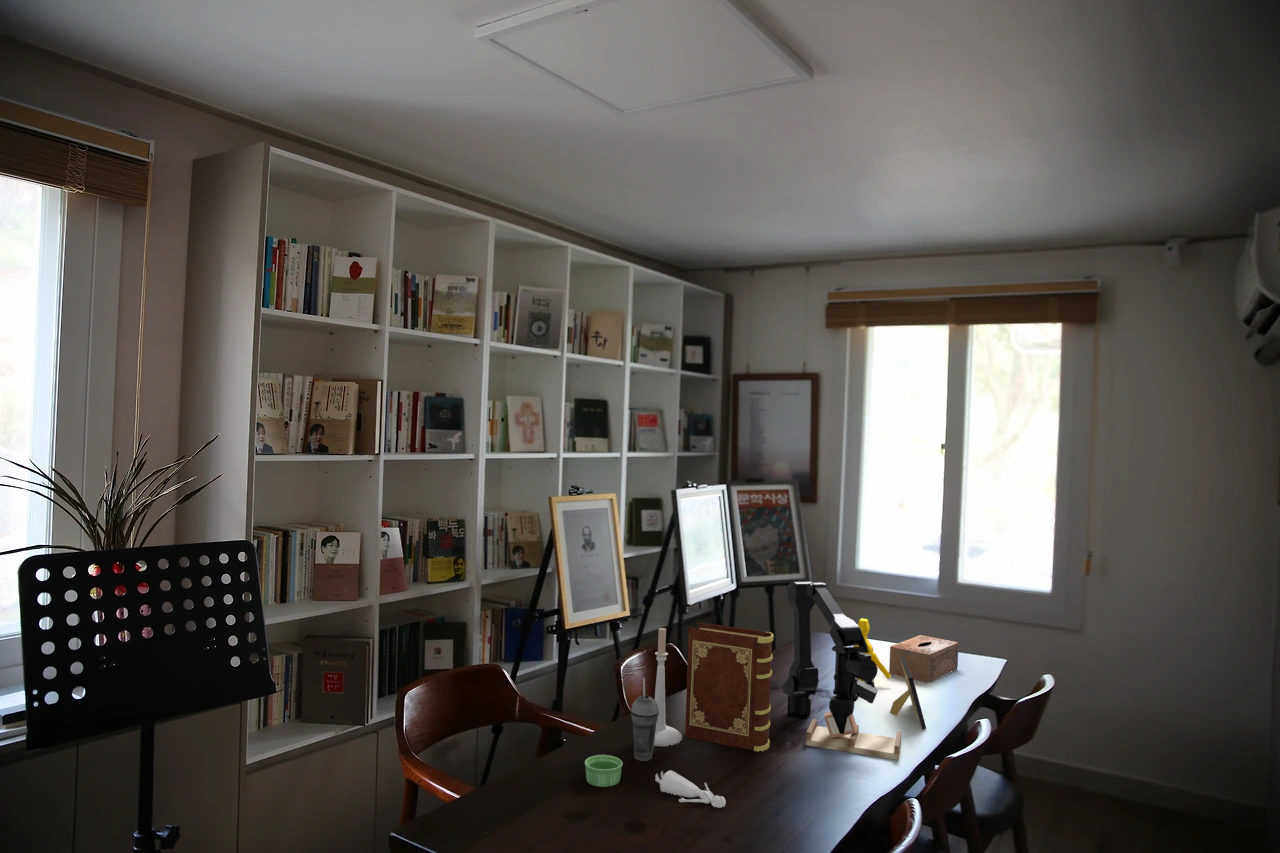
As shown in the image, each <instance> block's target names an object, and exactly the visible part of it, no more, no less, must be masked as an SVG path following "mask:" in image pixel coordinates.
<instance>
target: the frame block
mask: <svg viewBox="0 0 1280 853" xmlns="http://www.w3.org/2000/svg"><path fill="white" fill-rule="evenodd" d="M823 718H824V721H825V724H826V727H827V728H828V730H829V733H830V737H831V738H834V737H839V736H844V735H849V734H853V733H856V732H857V725H858V724H857V723H856V722H857V721H856V719H855V716H854V713H853V714H851V715H849V716H848V718H847V722H846V727H845V731H844V734H840V733H839V730H838V728H837V725H836V722H835V720H834V718H833V715H832V713H831V711H830V710H828V711H825V712H824V715H823Z"/></svg>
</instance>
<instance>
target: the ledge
mask: <svg viewBox="0 0 1280 853" xmlns="http://www.w3.org/2000/svg"><path fill="white" fill-rule="evenodd" d="M856 725H857V732H856V733H853V734H849V735H844V736H839V737H834V738H831V737H830V733H829V730H828V727H827V726H826V727H825V726H818V718H812V720H811V722H810V724H809V726H808V728H807V730H806V738H805V745H806V746H810V747H816V748H821V749H826V750H827V749H828V750H834V751H841V752H845V753H846V752H847V753H853V754H859V755H866V756H872V757H878V758H884V759H891V760H897V761H900V757H901V756H900V755H901V748H902V735H903V734H902V733H903V732H902V731H899V730H897V731H896V736H895V737H892V736H885V735H879V734H872V733H864V732H860V731H859V729H860V728H859V727H860V725H859V724H856Z"/></svg>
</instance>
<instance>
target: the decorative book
mask: <svg viewBox="0 0 1280 853" xmlns="http://www.w3.org/2000/svg"><path fill="white" fill-rule="evenodd" d="M773 641H774V633H772V632H771V631H762V630H755V629H749V628H748V629H747V628H742V627H741V628H740V627H735V626H733V627H732V626H726V625H721V624H711V623H703V622H698V623H697V628H695V627H688V641H687V642H688V646H687V665H686V666H687V672H686V674H687V676H686V697H685V698H686V699H685V700H686V702H685V723H684V724H685V725H684V726H685V727H684V728H685V729H684V730H685V731H684V732H685V733H684V734H685V735H684V736H685V738H688V739H694V740H697V741H702V742H708V743H711V744H712V743H714V744H717V745H724V746H728V747H733V748H737V747H738V749H742V748H743V750H747V749H748V750H749V751H753V750H754V751H753V752H756V751H757V753H760V752H759V751H762V752H765V751H767V750H768V749H769V748H770V745H771V744H770V743H771V742H770V739H769V729H770V727H771V720H770V712H771V710H772V706H771V705H772V704H770V700H771V677H772V675H773V670H772V668H771V667H772V660H773V659H774V658H773V653H772V645H773V644H772V643H773ZM764 750H765V751H764Z"/></svg>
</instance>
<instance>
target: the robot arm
mask: <svg viewBox="0 0 1280 853" xmlns="http://www.w3.org/2000/svg"><path fill="white" fill-rule="evenodd" d="M786 595H787V602H788V604H789V606H790V607H791V609H792V611H793V646H794V650H793V652H794V653H793V654H794V660H793V661H792V664H791V665H790V666H789V669H788V677H787V679H786V680H785V681H784V682H783V684H782V692H783V694H785V695H786V696H787V706H786V709H787V711H786V713H785V716H787V717H792V718H800V719H806V720H807V719H809V717H810V716H811V715H812V713H813V699H812V698H811V696H815V695H816V693H817V690H818V685H819V682H820V680H819V669H818V667H815V665H814V663H813V661H812V632H811V631H812V630H811V628H812V626H811V625H812V624H811V619H812V616H811V614H812V613H811V612H812V610H813V608H814V606H815V605H816V606H817V607H818V609H819V611H820V612H821V614H822V616H823V617H824V619H825V620H826V622H827V623H828V625H829V635H830V637H831V640H832V642H833V644H834V646H832V648H831V650H832V651H833V652H834V653H835V658H834V660H835V661H834V663H835V665H834V675H833V680H834V687H833V696H832V697H831V698H830V700H829V701H828V705H829V706H828V709H829V711H831V713H832V715H833V718H834V720H835V722H836V725H837V728H838V730H839V733H840V734H844V731H845V727H846V722H847V718H848V716H849V715H851V714H853V715H854V711H855V702H857V700H858V699H859V698H860V699H862V700H865V701H867V703H869V704H873V703H874V701H875V699H876V697H877V694H878V691H879V690H878V687H876V686H875V678H876V677H877V675H878V669H879V668H878V667H877V666H876V664H875V662H874V661H872V660H871V655H869V654H865V653H868V648H867V644H866V642H865V640H864V637H863V634H862V631H861V629H860V627H859V626H858V623H856V622H855V620H853V619H852V618H850V617H848V616H846V615H845V614H844V612H843V611H842V609H841V608H840V606H839V605H838V603H837V601H835V599H834V598H833V596H832V595H831V593H830V592H829V590H828V587H827V584H826V583H825V582H820V581H819V582H812V581H810V580H807V581H803V580H802V581H791V582H790V583H789V585H787V587H786ZM857 645H859V647H853V646H857ZM858 678H859V679H861V680H863V682H862V681H860V680H858ZM873 679H874V681H873ZM864 681H866V682H864Z"/></svg>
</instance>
